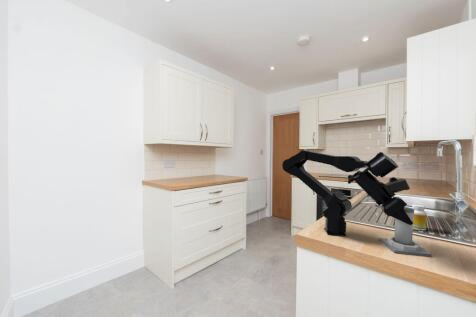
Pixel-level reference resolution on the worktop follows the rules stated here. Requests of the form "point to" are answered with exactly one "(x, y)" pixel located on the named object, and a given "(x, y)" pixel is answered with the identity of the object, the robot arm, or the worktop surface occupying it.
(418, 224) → the supplement bottle
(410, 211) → the canister
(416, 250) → the ring socket board
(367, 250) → the worktop surface
